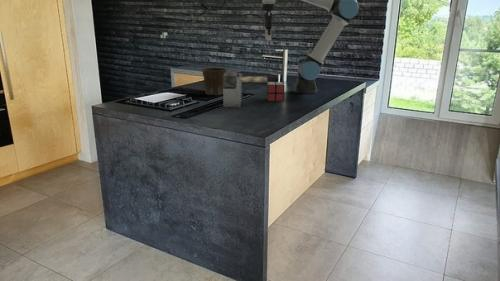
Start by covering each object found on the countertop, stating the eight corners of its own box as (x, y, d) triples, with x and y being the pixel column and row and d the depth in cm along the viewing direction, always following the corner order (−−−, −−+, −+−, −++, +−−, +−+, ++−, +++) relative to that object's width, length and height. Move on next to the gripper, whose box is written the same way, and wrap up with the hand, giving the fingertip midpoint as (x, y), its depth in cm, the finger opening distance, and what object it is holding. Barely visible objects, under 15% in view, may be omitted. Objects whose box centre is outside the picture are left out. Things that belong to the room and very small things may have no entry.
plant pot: (216, 90, 267) (216, 66, 262) (232, 94, 256) (232, 69, 251) (197, 93, 256) (196, 69, 251) (213, 97, 245) (212, 71, 240)
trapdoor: (266, 81, 234) (266, 72, 232) (267, 86, 219) (267, 76, 217) (225, 81, 234) (225, 72, 232) (223, 86, 219) (223, 76, 217)
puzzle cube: (283, 101, 235) (284, 84, 232) (267, 101, 235) (267, 84, 232) (282, 98, 245) (283, 82, 242) (266, 98, 245) (266, 82, 242)
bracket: (241, 99, 239) (241, 73, 234) (240, 106, 221) (240, 78, 216) (226, 99, 239) (225, 73, 234) (223, 106, 221) (222, 78, 216)
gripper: (261, 4, 248) (261, 39, 254) (263, 3, 224) (263, 41, 230) (273, 4, 248) (272, 38, 254) (276, 2, 224) (276, 41, 230)
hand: (268, 40), depth 242 cm, fingers open, 13 cm apart
